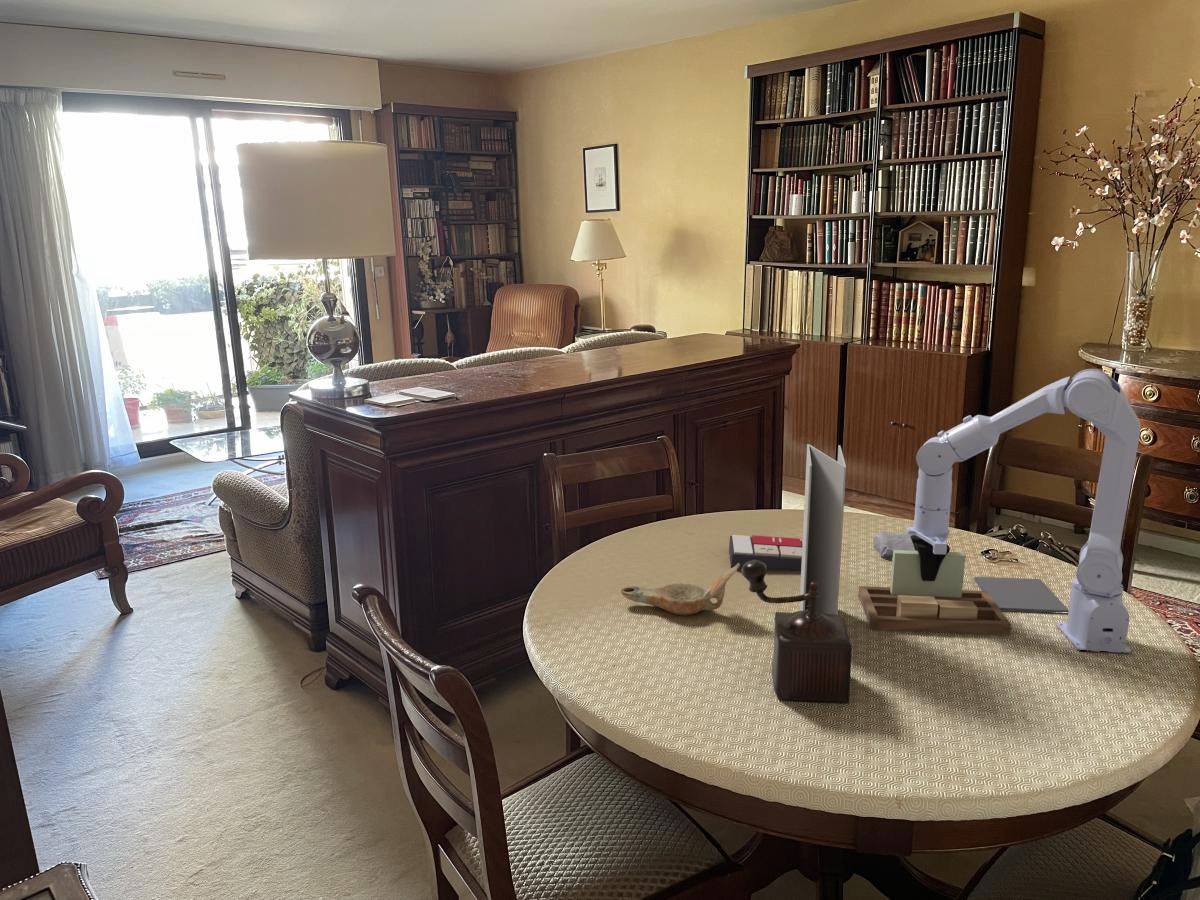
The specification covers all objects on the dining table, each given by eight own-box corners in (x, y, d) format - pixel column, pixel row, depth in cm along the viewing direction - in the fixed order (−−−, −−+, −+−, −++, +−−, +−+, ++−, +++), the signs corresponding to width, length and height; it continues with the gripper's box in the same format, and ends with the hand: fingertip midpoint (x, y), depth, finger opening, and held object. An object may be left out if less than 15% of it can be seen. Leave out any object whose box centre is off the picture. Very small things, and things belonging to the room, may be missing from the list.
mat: (1068, 613, 150) (1069, 610, 150) (996, 610, 152) (997, 607, 151) (1039, 582, 163) (1040, 579, 163) (974, 579, 165) (974, 576, 165)
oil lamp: (735, 626, 147) (736, 572, 145) (615, 613, 153) (614, 561, 150) (740, 606, 155) (742, 554, 153) (626, 594, 161) (626, 544, 158)
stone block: (941, 571, 174) (928, 545, 183) (943, 551, 172) (930, 525, 181) (881, 572, 175) (871, 546, 184) (883, 552, 173) (872, 526, 182)
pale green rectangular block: (961, 597, 153) (965, 555, 151) (891, 594, 154) (895, 553, 152) (959, 593, 154) (963, 552, 152) (890, 591, 156) (893, 549, 154)
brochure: (835, 642, 141) (846, 467, 133) (801, 640, 142) (809, 465, 134) (831, 606, 154) (840, 445, 147) (799, 604, 155) (807, 444, 148)
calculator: (808, 556, 169) (732, 550, 171) (806, 576, 170) (730, 570, 172) (802, 536, 180) (730, 531, 181) (800, 555, 181) (728, 550, 182)
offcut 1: (936, 628, 146) (938, 604, 144) (899, 626, 146) (901, 602, 145) (931, 620, 148) (933, 596, 147) (895, 619, 149) (897, 595, 148)
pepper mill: (839, 666, 133) (845, 558, 129) (850, 705, 122) (858, 588, 118) (738, 662, 135) (741, 555, 131) (740, 699, 124) (744, 584, 120)
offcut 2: (975, 630, 145) (977, 608, 144) (938, 628, 145) (940, 607, 144) (970, 622, 148) (972, 601, 147) (934, 620, 148) (936, 599, 147)
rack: (1009, 635, 142) (1011, 624, 142) (871, 629, 145) (871, 618, 145) (985, 601, 155) (986, 591, 155) (858, 596, 158) (859, 586, 158)
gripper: (900, 492, 158) (895, 562, 161) (918, 518, 144) (912, 593, 147) (940, 493, 157) (934, 563, 160) (962, 519, 143) (955, 595, 146)
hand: (926, 577), depth 153 cm, fingers closed on pale green rectangular block, 2 cm apart
